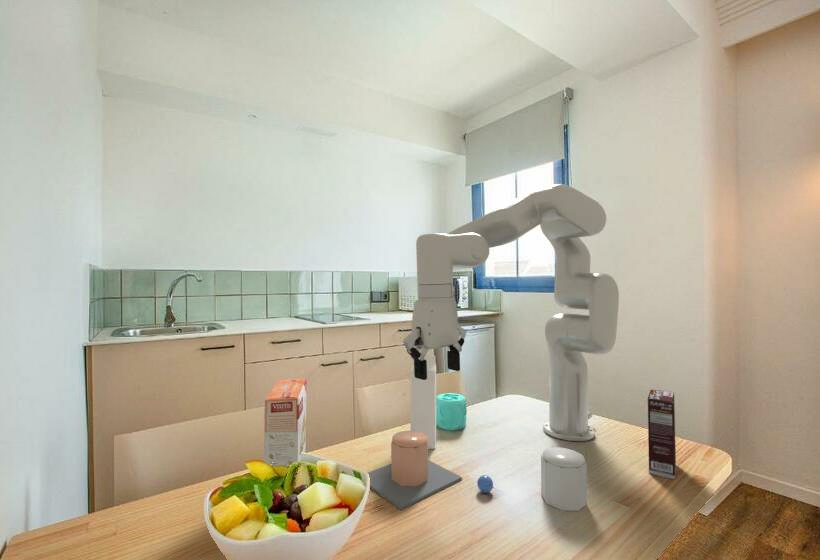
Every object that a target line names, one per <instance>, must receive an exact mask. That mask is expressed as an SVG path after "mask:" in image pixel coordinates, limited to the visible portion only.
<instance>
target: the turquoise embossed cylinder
mask: <svg viewBox="0 0 820 560" xmlns="http://www.w3.org/2000/svg"><path fill="white" fill-rule="evenodd" d="M467 406H468V404H467V399H466V397H465V396H464V395H462V394H460V393H456V392H447V393H440V394H438V395H436V427H438V428H439V429H441V430H444V431H449V430H450V431H451V432H452V431H453V430H455V431H460V429H461V430H463V429H464V428H465V427H466V424H467V414H468V413H467V412H468V411H467V408H468V407H467ZM453 432H454V431H453Z"/></svg>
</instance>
